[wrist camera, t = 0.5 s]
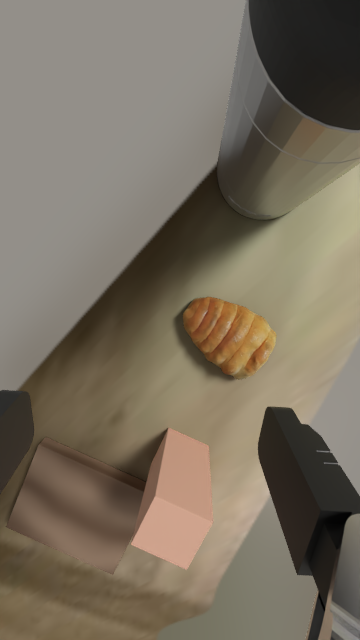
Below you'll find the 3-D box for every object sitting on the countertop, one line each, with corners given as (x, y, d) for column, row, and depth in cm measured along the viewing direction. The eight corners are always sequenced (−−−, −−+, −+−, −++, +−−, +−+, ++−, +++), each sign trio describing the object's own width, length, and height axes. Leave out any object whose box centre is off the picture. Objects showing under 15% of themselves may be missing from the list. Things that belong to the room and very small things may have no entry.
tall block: (168, 427, 32) (155, 495, 22) (208, 445, 32) (213, 522, 22) (151, 463, 33) (130, 544, 23) (190, 481, 33) (186, 569, 23)
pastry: (170, 331, 30) (166, 338, 26) (206, 278, 29) (207, 279, 25) (241, 379, 31) (247, 394, 27) (279, 329, 30) (291, 337, 26)
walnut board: (45, 436, 33) (38, 444, 31) (154, 486, 33) (152, 495, 32) (14, 516, 35) (5, 526, 34) (116, 562, 35) (112, 574, 34)
